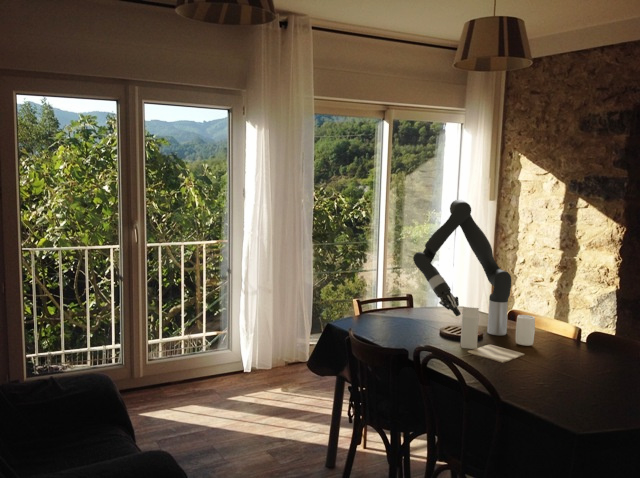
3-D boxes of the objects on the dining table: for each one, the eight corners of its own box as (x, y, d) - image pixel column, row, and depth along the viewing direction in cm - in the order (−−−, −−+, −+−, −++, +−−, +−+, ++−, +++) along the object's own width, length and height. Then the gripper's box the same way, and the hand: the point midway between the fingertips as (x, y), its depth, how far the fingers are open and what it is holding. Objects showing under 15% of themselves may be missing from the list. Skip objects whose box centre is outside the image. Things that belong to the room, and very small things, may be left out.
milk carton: (476, 349, 262) (479, 309, 260) (461, 348, 263) (463, 308, 261) (475, 345, 269) (478, 306, 267) (460, 343, 270) (462, 305, 268)
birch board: (489, 345, 269) (489, 344, 269) (524, 355, 255) (524, 353, 255) (467, 352, 257) (467, 351, 257) (502, 362, 244) (502, 361, 244)
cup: (534, 344, 272) (536, 316, 271) (532, 349, 265) (534, 319, 263) (515, 342, 276) (517, 313, 274) (513, 346, 268) (515, 317, 267)
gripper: (435, 283, 271) (455, 312, 263) (452, 280, 279) (471, 309, 271) (426, 291, 275) (445, 321, 267) (442, 288, 284) (462, 317, 276)
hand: (458, 315), depth 269 cm, fingers closed
